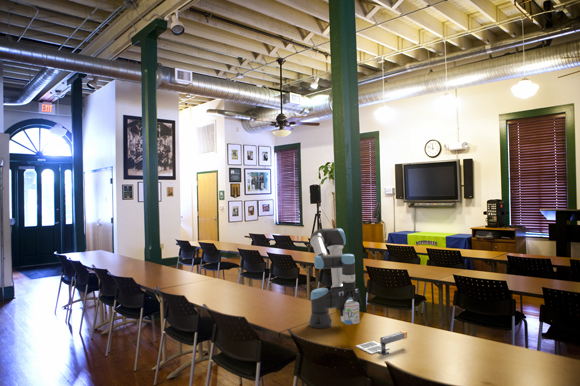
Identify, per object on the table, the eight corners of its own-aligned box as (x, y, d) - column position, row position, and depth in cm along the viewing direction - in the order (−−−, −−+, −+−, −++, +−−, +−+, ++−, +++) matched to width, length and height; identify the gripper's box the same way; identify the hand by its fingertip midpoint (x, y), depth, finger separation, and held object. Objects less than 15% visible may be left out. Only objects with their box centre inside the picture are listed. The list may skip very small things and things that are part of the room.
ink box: (346, 325, 219) (345, 304, 219) (340, 320, 227) (339, 300, 227) (360, 323, 221) (359, 302, 221) (353, 318, 230) (353, 299, 230)
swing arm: (383, 345, 203) (383, 339, 204) (379, 343, 206) (379, 337, 206) (407, 338, 213) (407, 332, 213) (403, 336, 216) (403, 330, 216)
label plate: (355, 346, 216) (355, 345, 216) (373, 341, 222) (373, 340, 222) (371, 354, 204) (371, 353, 204) (389, 349, 211) (389, 347, 211)
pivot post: (378, 352, 206) (377, 343, 206) (383, 351, 208) (383, 342, 208) (383, 355, 203) (383, 346, 203) (389, 353, 205) (388, 344, 205)
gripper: (337, 285, 216) (338, 325, 216) (367, 279, 226) (368, 318, 226) (329, 282, 222) (330, 321, 222) (359, 277, 233) (360, 314, 233)
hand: (349, 319), depth 224 cm, fingers closed on ink box, 9 cm apart
